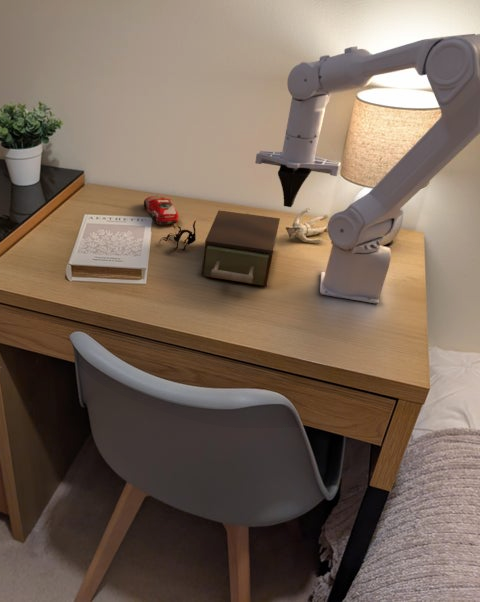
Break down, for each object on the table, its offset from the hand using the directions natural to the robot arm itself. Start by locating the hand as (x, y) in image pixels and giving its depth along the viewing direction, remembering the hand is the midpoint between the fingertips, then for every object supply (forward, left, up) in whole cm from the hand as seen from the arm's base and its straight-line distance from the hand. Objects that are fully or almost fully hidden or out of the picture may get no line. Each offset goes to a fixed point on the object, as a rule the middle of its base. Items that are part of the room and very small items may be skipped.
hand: (288, 204), depth 108 cm
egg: (+7, +10, -8) cm, 15 cm away
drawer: (+7, +11, -10) cm, 16 cm away
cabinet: (+7, +7, -10) cm, 14 cm away
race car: (+27, -10, -11) cm, 31 cm away
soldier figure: (-5, -10, -11) cm, 15 cm away
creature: (+20, +4, -11) cm, 23 cm away
